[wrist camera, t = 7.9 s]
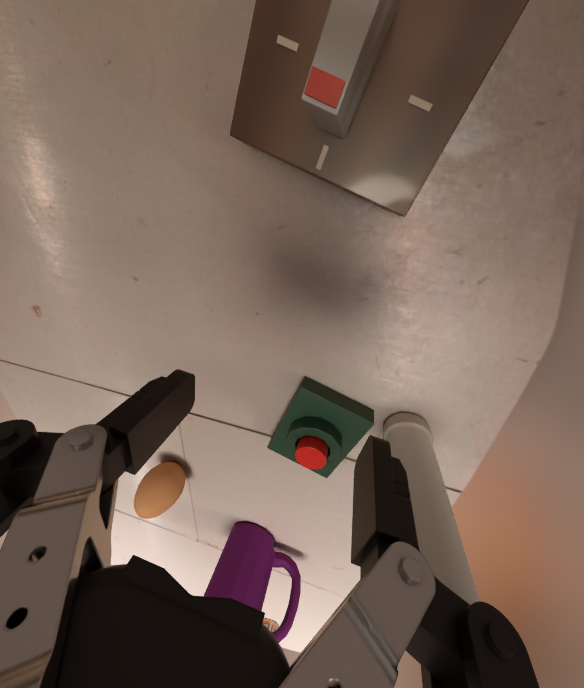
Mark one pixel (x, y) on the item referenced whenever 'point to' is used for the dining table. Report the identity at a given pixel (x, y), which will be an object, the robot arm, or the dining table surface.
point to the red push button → (311, 452)
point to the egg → (159, 490)
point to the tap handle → (345, 60)
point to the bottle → (430, 503)
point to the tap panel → (370, 92)
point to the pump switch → (322, 423)
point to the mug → (253, 572)
